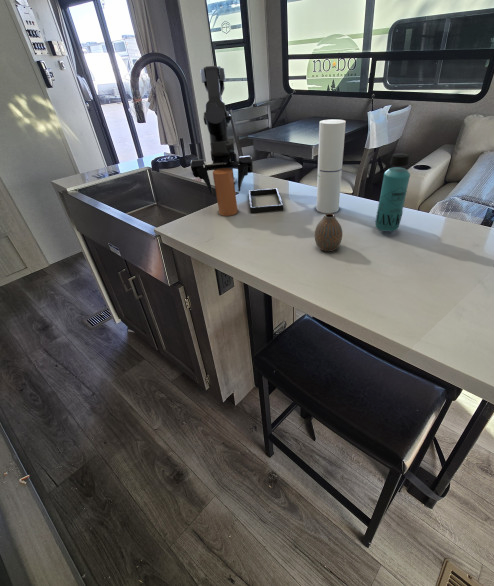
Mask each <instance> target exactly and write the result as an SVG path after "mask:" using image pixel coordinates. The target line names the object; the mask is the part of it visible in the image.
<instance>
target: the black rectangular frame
mask: <svg viewBox="0 0 494 586" xmlns="http://www.w3.org/2000/svg"><path fill="white" fill-rule="evenodd" d="M247 192H248V199H249V200H248V201H249V209H250V214H256V213H257V214H258V213H268V212H281V211H284V204H283V200H282V197H281V194H280V192H279V188H276V187H275V188H263V189H251V190H250V189H249V190H248V191H247ZM265 195H266V196H267V195H276V197H277V200H278V201H277V202H278V204H273V205H259V206H253V205H252V203H253V202H252V196H254V197H255V196H265Z"/></svg>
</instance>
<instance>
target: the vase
mask: <svg viewBox="0 0 494 586" xmlns="http://www.w3.org/2000/svg"><path fill="white" fill-rule="evenodd" d="M342 240H343V228H342V225H341V224H340V222H339V221H338V220H337V218H336V215H335V214H334V213H324V215H323V218H322V219H321V220H320V221H319V222H318V223H317V225H316V227H315V230H314V241H315V244H316V246H317V247H318V248H319V249H320V250H321V251H324V252H332V251H335V250H336V249H338V248H339V246H340V245H341V243H342Z"/></svg>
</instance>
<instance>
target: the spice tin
mask: <svg viewBox="0 0 494 586" xmlns="http://www.w3.org/2000/svg"><path fill="white" fill-rule="evenodd" d="M233 175H234V169H233V170H232V169H229V168H222V169H217V170H212V178H213V184H214V189H215V196H216V201H217V209H218V213H219V215H220V216H223V217H229V216H234V215H236V214H238V211H239V209H238V204H237V196H236V195H237V194H236V186H235V183H234V178H235V177H234V178H233Z"/></svg>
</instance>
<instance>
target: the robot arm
mask: <svg viewBox="0 0 494 586" xmlns="http://www.w3.org/2000/svg"><path fill="white" fill-rule="evenodd" d="M199 72H200V79H201V83H202V84H204V85H203V86H204V89H205V91H206V93H207V97H208V98H207V99H208V100H207V102H206V103H205V107H204V108H205V111H204V112H203V123H204V125H205V126H206V127H207V131H208V134H209V141H210V142H209V143H210V159H211V161H212V162H210V163H206V162H205V161H204V159H203V158H202V159H201V158H199V159H191V160H190V170H191V173H192V175H193V177H194V178H199V180H203V182H204V183H205V184H206V186H207V188H208V190H209V192H210V194H211V195H213V188H212V184H211V180H210V177H209V176H210V175H209V171H214V170H217V169H222V168H229V169H232V170H233V171H234V169H237V189H238V190H237V191H238V192H240V191H241V188H242V184H243V181H244V178H245V177H246V176H248V174H251V173H253V169H254V168H253V167H254V165H253V157H252V156H250V155H239V156H238V159H237V153H236V151H235V146H234V145H235V144H234V138H229V133H228V124H230V123H231V121H232V119H231V118H232V117H231V114H230V112H229V111H228V110H226V103H225V102H224V101H223V97H222V96H223V93H224V91H225V83H226V73H225V68H223V67H221V66H220V65H218V66H217V65H207V66H203V68H201V69H199ZM234 175H235V174H233V178H234V184H236V177H235V176H234Z"/></svg>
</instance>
